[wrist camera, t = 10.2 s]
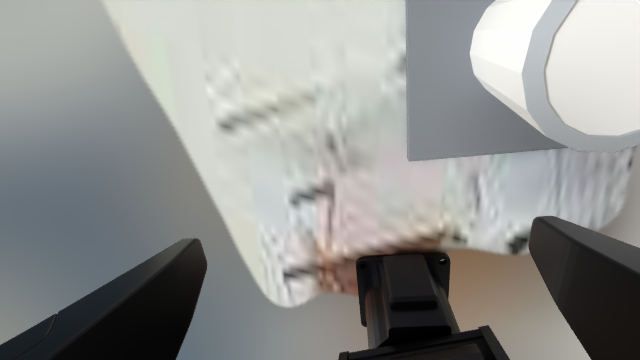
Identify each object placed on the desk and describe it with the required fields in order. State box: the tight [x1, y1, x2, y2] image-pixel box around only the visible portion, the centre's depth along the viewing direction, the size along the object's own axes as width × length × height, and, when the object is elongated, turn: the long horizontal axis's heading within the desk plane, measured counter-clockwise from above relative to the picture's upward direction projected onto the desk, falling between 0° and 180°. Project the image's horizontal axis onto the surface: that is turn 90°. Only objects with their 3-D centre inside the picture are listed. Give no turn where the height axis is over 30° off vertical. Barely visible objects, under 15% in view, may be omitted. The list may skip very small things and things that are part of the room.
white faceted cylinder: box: [470, 0, 640, 152], centre depth 14 cm, size 7×7×7 cm
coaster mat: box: [406, 0, 569, 161], centre depth 17 cm, size 12×12×1 cm
